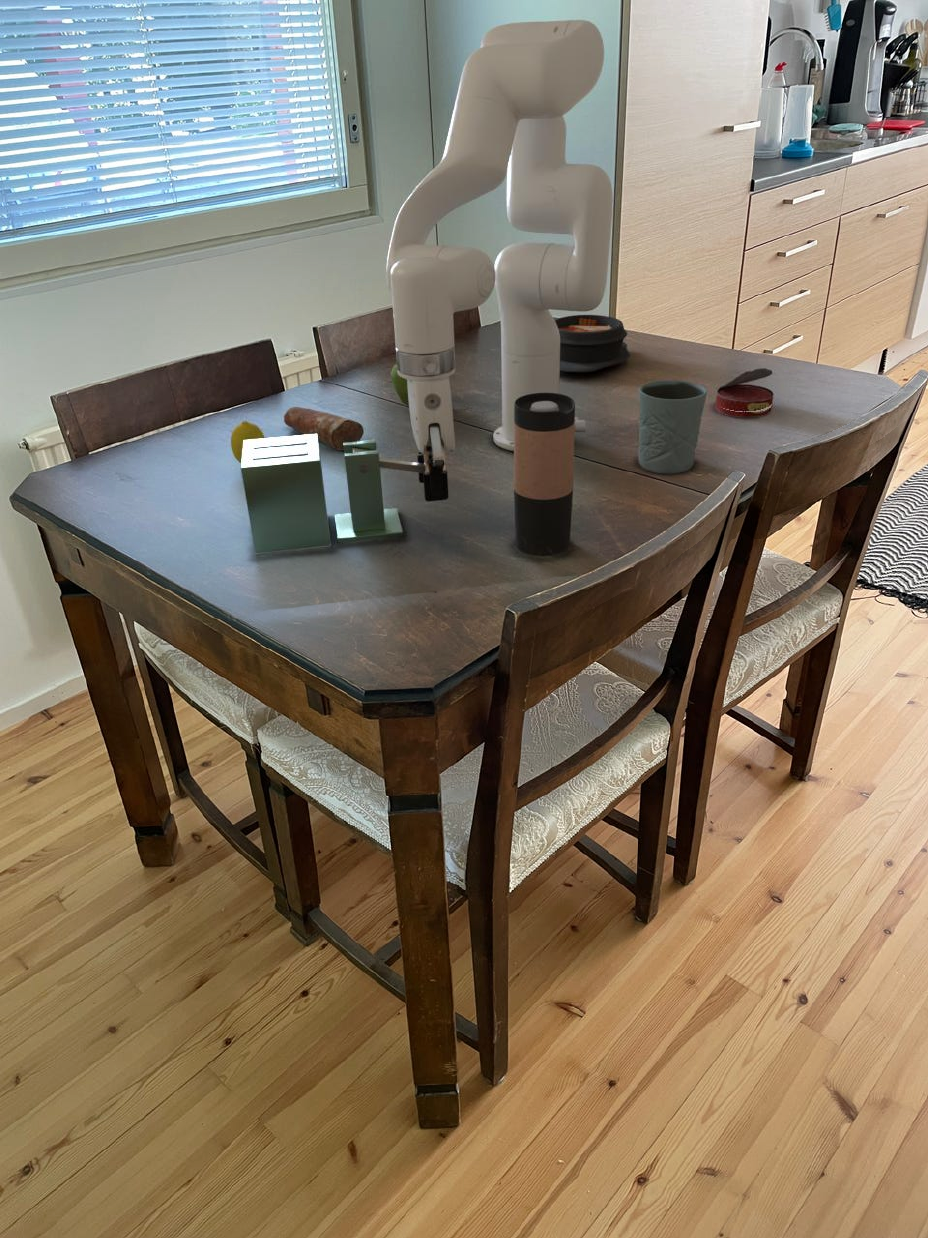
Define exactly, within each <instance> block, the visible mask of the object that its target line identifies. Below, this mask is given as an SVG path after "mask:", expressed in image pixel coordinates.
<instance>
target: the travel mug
mask: <svg viewBox="0 0 928 1238" xmlns="http://www.w3.org/2000/svg"><path fill="white" fill-rule="evenodd" d="M575 417H576V401H575V400H574V398H572V397H571V396H568V395H565V394H562V393H559V394H557V393H534V394H528V395H524V396H522V397H520V398H518V399H517V400H516V401H515V404H514V451H513V504H514V505H513V506H514V524H515V525H514V529H515V547H516V549H518V550H519V551H520V552H522V553H524V554H526V555H530V556H534V557H535V556H536V557H549V556H550V557H551V556H556V555H559V554H562V553H564V552H565V551H567V550H568V549H569V548H570V545H571V543H570V541H571V528H572V513H573V512H572V511H573V497H574V473H575V472H574V470H575V432H574V428H575Z"/></svg>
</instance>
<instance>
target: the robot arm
mask: <svg viewBox="0 0 928 1238" xmlns="http://www.w3.org/2000/svg"><path fill="white" fill-rule="evenodd" d="M604 61H605V44H604V39H603V37H602V34H601V31H600V30H599V28H598V26H597V25H596V24H594V23H593V22H592V21H589V20H585V19H567V20H553V21H552V20H549V21H521V22H512V23H505V24H500V25H498V26H494V27H493V28H491V29H489V30H488V31H486V32H485V34H484V35H483V37H482V39H481V42H480V47H479V48H477V49H476V50H474V51H473V52H472V53H470V55H469V56H468V57H467V59H466V60H465V63H464V66H463V67H462V71H461V76H460V80H459V85H458V90H457V93H456V98H455V103H454V108H453V111H452V115H451V120H450V125H449V129H448V132H447V133H448V134H447V137H446V143H445V147H444V152H443V156H442V158H441V160H440V162H439V163H438V164H437V165H436V166H435V167H434V168H433V169H432V170H431V171H429V173H428V174H427V175H426V176H425V177H423V179H422V180H421V181H420V182H419V183H418V184H417V185H416V186H415V188H414V189H413V191H412V192H411V193H410V195H409V196H408V197H407V199H406V200H405V201H404V203H403V204H402V206H401V208H400V209H399V212H398V214H397V216H396V219H395V221H394V225H393V229H392V234H391V238H390V243H389V248H388V252H387V259H386V264H385V265H386V267H385V278H386V284H387V288H388V290H389V292H390V294H391V302H392V316H393V326H394V327H393V329H394V330H393V331H394V342H395V343H394V344H395V355H396V356H395V357H396V364H397V371H398V375H399V376H400V377H402V378H404V379H407V387H408V400H409V406H408V411H409V418H410V424H411V430H412V435H413V438H414V442H415V444H416V448H417V453H418V454H417V457H416V459H417V463H422V464H424V465H425V473H418V472H417V473H418V475H417V476H418V481H419V483H421V484H423V492H424V493H423V494H424V500H425V501H426V502H438V501H447V500H448V499H449V480H448V479H449V477H448V470H447V464H446V451H450V452H451V453H452V452H454V451H455V450H456V437H455V424H454V412H453V411H454V410H453V400H452V390H451V384H450V383H451V382H450V378H449V377H451V376H452V375H454V374H455V373H456V350H455V327H454V326H455V325H454V324H455V323H454V314H455V313H457V312H463V311H469V310H474V309H476V308H478V307H480V306H482V305H483V304H484V303H486V302H487V300H488V299H489V298H490V296H491V295H492V293H493V291H494V288H495V293H496V298H497V304H498V309H499V318H500V320H499V321H500V337H501V338H500V345H501V347H500V351H501V352H500V353H501V357H500V358H501V362H500V363H501V418H502V419H501V426H500V427H498V428H496V429H495V430H494V432H493V436H492V437H493V438H492V439H493V442H494V443H495V445H496V446H498V447H499V448H501V449H504V450H507V451H511V452H514V404H515V401H516V400H517V399H518V398H520V397H522V396H524V395H528V394H534V393H557V394H560V374H561V371H560V334H559V330H558V327H557V324H556V322H555V319H554V317H553V315H552V313H551V311H550V310H553V311H566V312H567V311H568V312H590V311H594V310H595V309H596V308H598V307H599V306H600V305H601V303H602V301H603V299H604V296H605V293H606V287H607V281H608V270H609V259H610V246H611V245H610V243H611V232H612V219H613V187H612V184H611V180H610V179H611V178H610V177H609V175H608V173H607V172H606V170H604V169H603V167H601V166H598V165H594V164H588V163H567V160H566V147H567V146H566V145H567V143H566V142H567V124H566V121H565V117H564V115H566V114H567V113H568V112H570V111H571V110H572V109H573V108H574V107H576V105H578V104H579V103H580V102H581V101H582V100H583V99H584V98H585V97H586V96H588V95H589V94H590V93H591V91H593V89H594V87H595V86H596V85H597V83H598V82H599V79H600V76H601V74H602V71H603V67H604ZM505 179H506V213H507V214H506V215H507V220H508V222H509V224H510V226H511V227H513V228H514V229H516V230H518V231H521V232H524V233H525V232H526V233H534V234H535V233H536V234H552V235H569V236H572V237H573V241H574V244H572V243H571V244H570V243H554V242H538V241H537V242H535V241H522V242H516V243H512V244H509V245H507V246H506V247H504V248H503V249H502V250H501V251H500V252H499V253H498V255H497V257H496V259H495V262H493V260H492V258H491V257H490V256H489V255H488V254H487V253H486V252H485V251H483V250H481V249H478V248H475V247H469V246H456V245H455V246H454V245H452V246H451V245H441V244H440V245H439V244H426V243H427V240H428V237H429V236H430V234H431V232H432V230H433V229H434V228H435V226H436V225H437V224H438V223H439V222H440V221H441V220H442V219H443V218H444V217H445V216H447V215H449V214H450V213H451V212H453V211H454V210H456V209H458V208H461V207H462V206H464V205H466V204H469V203H471V202H472V201H474V200H476V199H479V198H480V197H482V196H485V195H487V194H489V193H490V192H491V193H492V192H493V191H495V190H496V189H497V188H499V187H500V186H502V184H503V183H504V181H505ZM586 422H587V421H586V420H579V417H578V416H575V428H574V433H586V424H587V423H586ZM445 448H446V450H445ZM430 458H432V460H430V462H429V459H430Z"/></svg>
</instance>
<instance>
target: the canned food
mask: <svg viewBox="0 0 928 1238" xmlns="http://www.w3.org/2000/svg"><path fill="white" fill-rule="evenodd" d="M772 374H773V370H772V369H768V368H766V367H765V368H764V367H763V368H762V367H760V368H755V369H753V370H748V371H747V370H746V371H745V372H743V373H741V374H739V375H738V376H737V377H735V378H734V379H732V380H731V381H729V382H727V383H725V384H724V385H721V386H719V387H717V388H716V399H715V400H716V401H715V407H714V408H715V411H717V413H719V414H721V415H725V416H728V417H732V418H740V419H755V418H761V417H764V416H767V415H769V414H771V412H772V407H773V400H774V392H773V390H771V389H769V388H767V387H765V386H761V385H755V384H748V383H750V382H753V381H757V380H761V379H766V378H767V377H769V376H771V375H772ZM745 383H746V384H745ZM716 403H717V404H716ZM771 404H772V406H771V408H769V409H767V410H765V411H760V412H746V411H756V410H761V409H764V408H766V407H769V406H770V405H771ZM719 406H720V407H719ZM721 407H722V408H721ZM723 408H725V409H723ZM726 409H729V410H726ZM730 410H734V411H730ZM735 411H743V412H735ZM744 411H745V412H744Z"/></svg>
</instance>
